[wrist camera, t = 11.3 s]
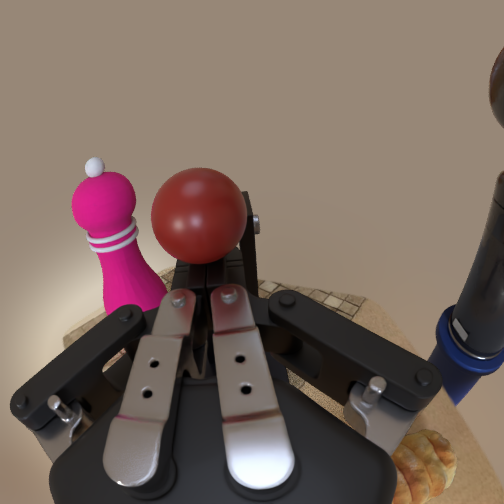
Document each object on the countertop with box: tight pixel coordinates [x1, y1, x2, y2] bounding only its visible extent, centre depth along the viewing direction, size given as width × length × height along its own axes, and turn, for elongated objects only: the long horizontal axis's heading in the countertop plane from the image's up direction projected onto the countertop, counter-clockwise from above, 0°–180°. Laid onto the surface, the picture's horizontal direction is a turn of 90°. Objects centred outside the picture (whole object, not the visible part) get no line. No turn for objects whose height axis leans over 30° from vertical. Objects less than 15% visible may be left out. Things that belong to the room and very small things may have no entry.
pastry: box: [391, 429, 457, 504], centre depth 13 cm, size 9×7×4 cm
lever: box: [151, 168, 247, 264], centre depth 15 cm, size 13×4×4 cm
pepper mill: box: [72, 157, 168, 315], centre depth 26 cm, size 7×7×20 cm
